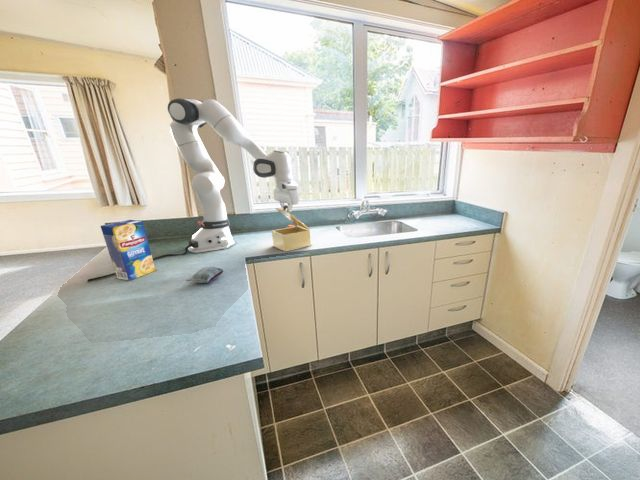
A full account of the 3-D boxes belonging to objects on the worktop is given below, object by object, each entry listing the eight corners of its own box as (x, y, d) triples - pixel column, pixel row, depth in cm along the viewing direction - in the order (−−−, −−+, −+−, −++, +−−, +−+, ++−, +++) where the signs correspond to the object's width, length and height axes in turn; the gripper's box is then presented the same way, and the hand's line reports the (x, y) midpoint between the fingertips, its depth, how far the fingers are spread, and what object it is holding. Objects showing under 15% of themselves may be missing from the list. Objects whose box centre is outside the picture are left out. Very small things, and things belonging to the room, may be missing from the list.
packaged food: (187, 286, 115) (184, 274, 113) (205, 273, 126) (203, 263, 124) (209, 287, 115) (207, 275, 113) (225, 274, 126) (223, 264, 124)
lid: (287, 212, 150) (292, 205, 151) (275, 209, 158) (280, 202, 159) (309, 230, 162) (313, 223, 163) (297, 225, 170) (301, 219, 171)
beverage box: (156, 270, 128) (142, 221, 121) (129, 280, 119) (113, 227, 111) (144, 268, 130) (130, 219, 123) (116, 278, 120) (100, 225, 113)
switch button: (290, 229, 182) (289, 226, 182) (287, 228, 185) (286, 225, 184) (295, 228, 185) (295, 225, 184) (292, 227, 187) (292, 224, 187)
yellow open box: (284, 251, 154) (283, 235, 151) (273, 246, 163) (271, 230, 159) (310, 245, 165) (309, 230, 162) (298, 240, 173) (297, 225, 170)
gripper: (268, 182, 156) (272, 208, 161) (288, 186, 142) (291, 214, 147) (280, 181, 160) (282, 207, 165) (299, 185, 147) (302, 213, 151)
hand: (286, 210), depth 156 cm, fingers closed on lid, 5 cm apart
